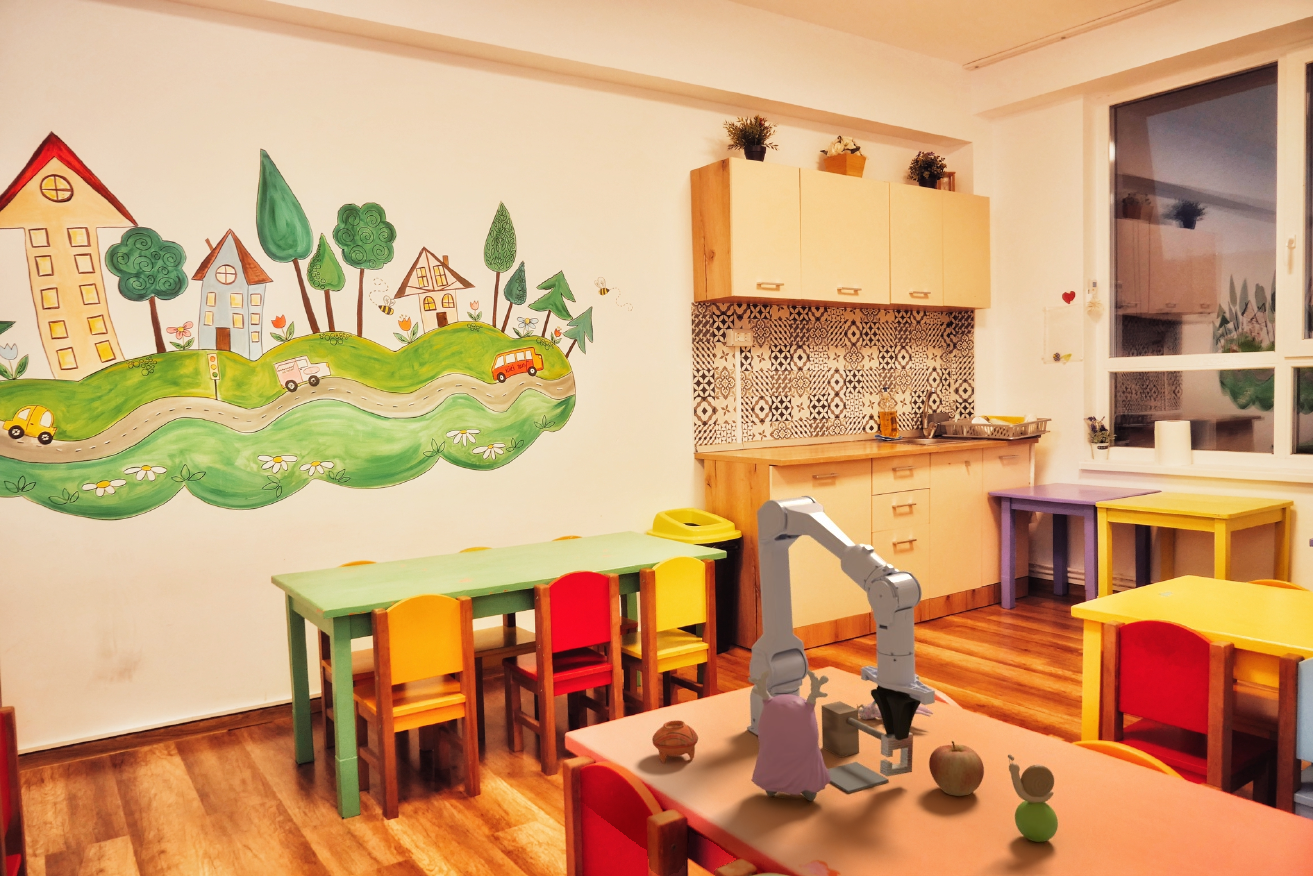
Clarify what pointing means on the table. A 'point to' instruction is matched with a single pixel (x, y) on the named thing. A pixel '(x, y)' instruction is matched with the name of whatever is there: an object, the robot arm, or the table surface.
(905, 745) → the link
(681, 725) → the pot
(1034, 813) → the snail figurine
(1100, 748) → the table surface
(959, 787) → the apple
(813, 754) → the toy character
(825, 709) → the stand
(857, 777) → the mat
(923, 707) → the rabbit figure
